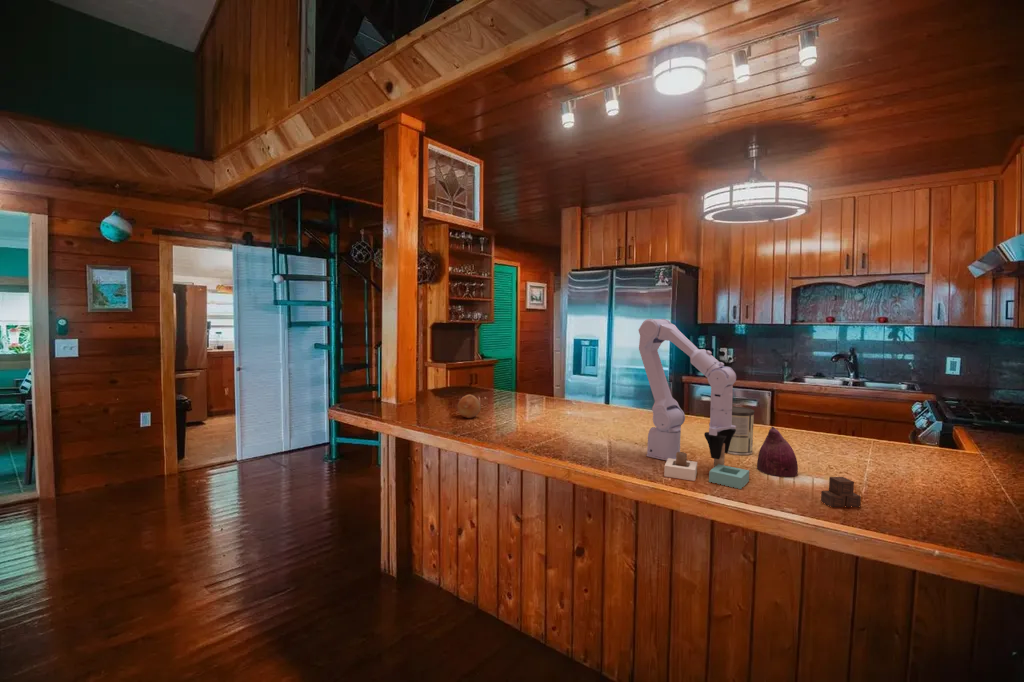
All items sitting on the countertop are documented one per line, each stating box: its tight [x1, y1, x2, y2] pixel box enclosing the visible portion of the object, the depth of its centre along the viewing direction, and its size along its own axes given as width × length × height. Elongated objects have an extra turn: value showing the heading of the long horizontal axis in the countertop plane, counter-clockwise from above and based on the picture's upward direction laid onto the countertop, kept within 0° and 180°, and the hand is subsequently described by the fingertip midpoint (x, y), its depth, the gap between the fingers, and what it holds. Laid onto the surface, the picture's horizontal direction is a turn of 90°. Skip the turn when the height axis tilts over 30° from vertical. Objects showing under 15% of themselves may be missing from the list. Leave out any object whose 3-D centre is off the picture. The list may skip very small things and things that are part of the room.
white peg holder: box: [663, 458, 698, 482], centre depth 132 cm, size 8×8×3 cm
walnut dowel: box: [676, 451, 688, 467], centre depth 132 cm, size 3×3×6 cm
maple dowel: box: [713, 443, 726, 468], centre depth 136 cm, size 3×3×8 cm
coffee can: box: [727, 405, 755, 456], centre depth 156 cm, size 10×10×14 cm
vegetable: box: [756, 425, 799, 478], centre depth 135 cm, size 10×10×15 cm
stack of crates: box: [820, 476, 862, 508], centre depth 114 cm, size 15×15×7 cm
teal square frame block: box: [708, 464, 750, 490], centre depth 127 cm, size 8×8×3 cm
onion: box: [456, 393, 482, 419], centre depth 201 cm, size 10×10×10 cm
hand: (719, 455), depth 136 cm, fingers open, 7 cm apart
